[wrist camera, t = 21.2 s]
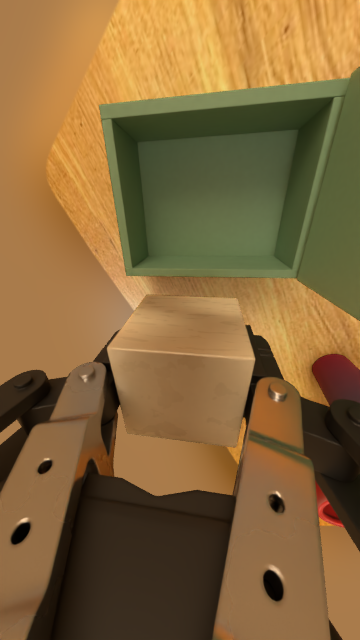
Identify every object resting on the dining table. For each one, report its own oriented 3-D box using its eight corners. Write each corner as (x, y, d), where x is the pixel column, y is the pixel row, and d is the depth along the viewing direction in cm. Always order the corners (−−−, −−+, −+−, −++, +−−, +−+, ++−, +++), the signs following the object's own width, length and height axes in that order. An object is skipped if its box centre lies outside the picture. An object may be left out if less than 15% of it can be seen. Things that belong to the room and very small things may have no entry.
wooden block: (153, 362, 12) (126, 434, 8) (146, 294, 10) (105, 348, 6) (228, 368, 12) (236, 448, 8) (237, 297, 9) (256, 359, 6)
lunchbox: (145, 261, 26) (126, 275, 20) (131, 134, 20) (98, 104, 14) (277, 261, 24) (299, 278, 18) (307, 120, 18) (353, 76, 12)
